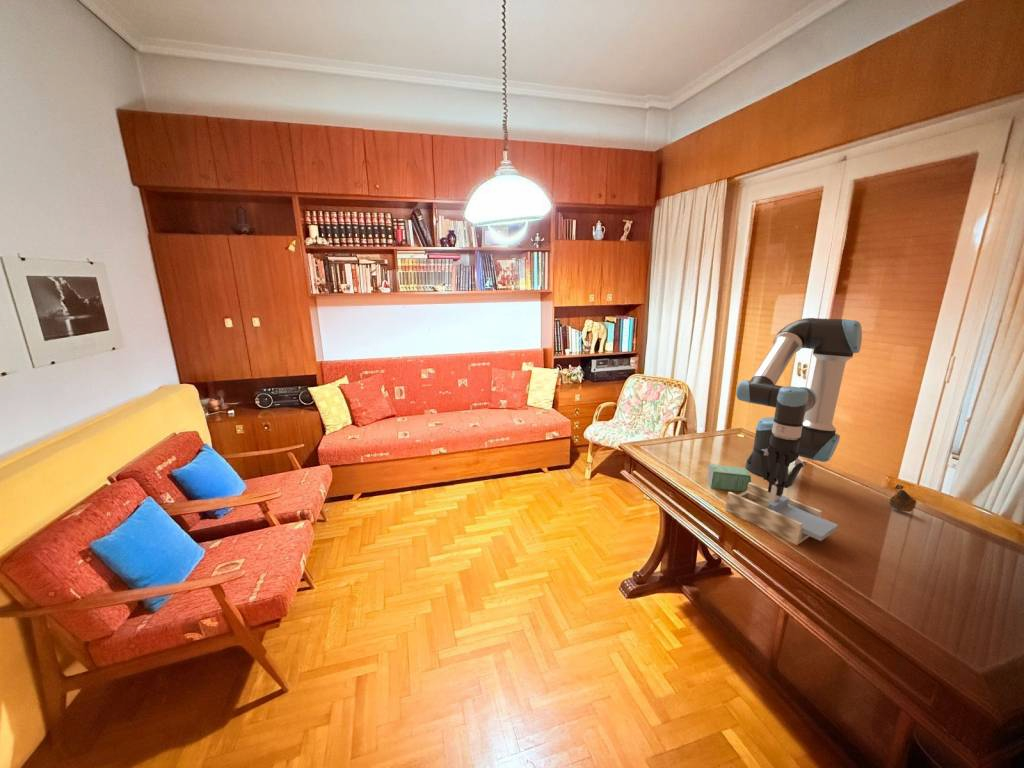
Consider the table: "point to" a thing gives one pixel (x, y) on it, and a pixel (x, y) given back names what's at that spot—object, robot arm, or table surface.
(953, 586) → the table surface
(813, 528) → the cover plate
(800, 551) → the table surface
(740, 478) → the box
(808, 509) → the case
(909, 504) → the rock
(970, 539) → the table surface
